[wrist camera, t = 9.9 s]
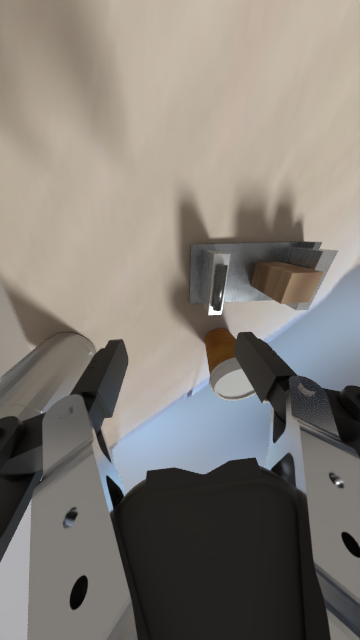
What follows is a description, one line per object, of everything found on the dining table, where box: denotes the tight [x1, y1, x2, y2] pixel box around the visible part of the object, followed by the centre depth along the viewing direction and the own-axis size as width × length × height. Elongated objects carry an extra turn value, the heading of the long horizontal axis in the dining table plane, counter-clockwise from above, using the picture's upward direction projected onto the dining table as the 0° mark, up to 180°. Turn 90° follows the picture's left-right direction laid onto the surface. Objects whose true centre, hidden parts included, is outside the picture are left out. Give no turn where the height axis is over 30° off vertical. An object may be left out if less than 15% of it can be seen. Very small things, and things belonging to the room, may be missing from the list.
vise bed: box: [190, 241, 338, 310], centre depth 22 cm, size 19×10×7 cm, turn 91°
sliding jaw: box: [201, 250, 231, 315], centre depth 21 cm, size 2×8×7 cm, turn 1°
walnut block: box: [251, 262, 324, 304], centre depth 21 cm, size 4×4×8 cm
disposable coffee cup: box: [205, 328, 256, 401], centre depth 28 cm, size 10×10×12 cm
